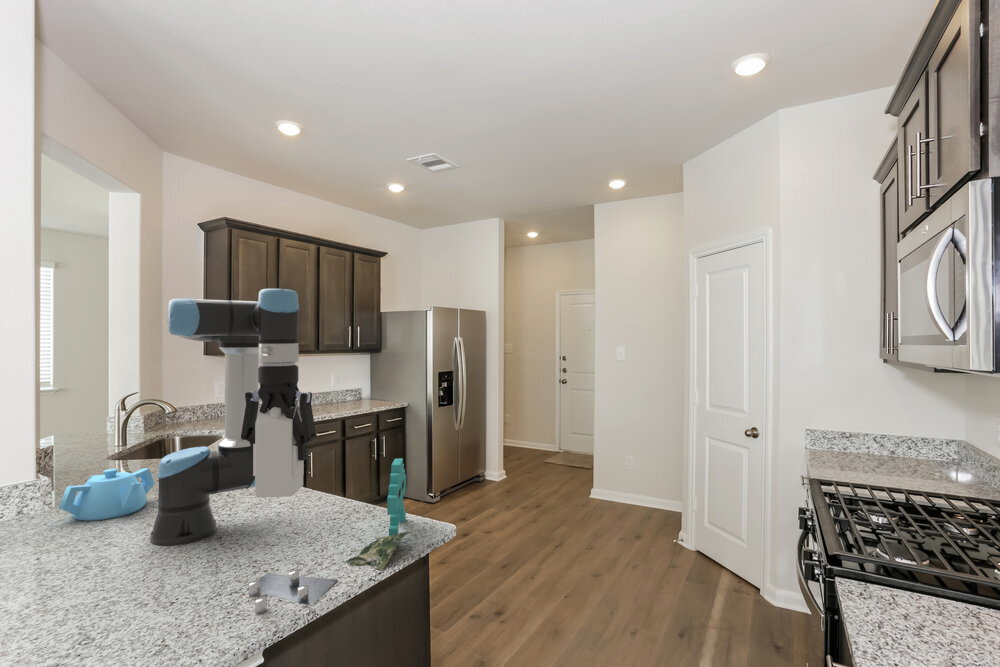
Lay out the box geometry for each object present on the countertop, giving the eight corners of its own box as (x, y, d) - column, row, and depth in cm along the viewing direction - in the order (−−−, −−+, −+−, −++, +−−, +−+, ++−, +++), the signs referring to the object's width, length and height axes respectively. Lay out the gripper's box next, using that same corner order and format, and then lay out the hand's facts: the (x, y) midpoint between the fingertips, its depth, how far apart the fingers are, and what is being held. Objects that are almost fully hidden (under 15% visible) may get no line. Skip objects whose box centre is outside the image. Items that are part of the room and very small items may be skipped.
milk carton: (269, 487, 102) (269, 398, 102) (303, 486, 103) (303, 397, 103) (254, 498, 95) (255, 402, 95) (291, 497, 96) (291, 402, 96)
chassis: (210, 625, 91) (210, 604, 91) (267, 579, 108) (267, 562, 108) (292, 634, 88) (292, 612, 88) (337, 586, 105) (337, 568, 105)
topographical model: (360, 543, 128) (358, 534, 127) (411, 538, 123) (408, 529, 123) (325, 580, 112) (322, 570, 112) (381, 576, 108) (378, 565, 108)
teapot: (56, 529, 136) (57, 480, 136) (87, 507, 154) (88, 464, 154) (137, 520, 143) (138, 474, 143) (158, 500, 161) (158, 459, 161)
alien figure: (395, 549, 124) (396, 471, 124) (387, 549, 123) (387, 471, 123) (405, 519, 143) (405, 452, 144) (398, 519, 143) (398, 452, 143)
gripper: (219, 365, 96) (219, 478, 96) (315, 365, 93) (315, 483, 93) (245, 362, 104) (245, 467, 103) (335, 363, 100) (335, 472, 100)
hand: (278, 475), depth 98 cm, fingers closed on milk carton, 8 cm apart
